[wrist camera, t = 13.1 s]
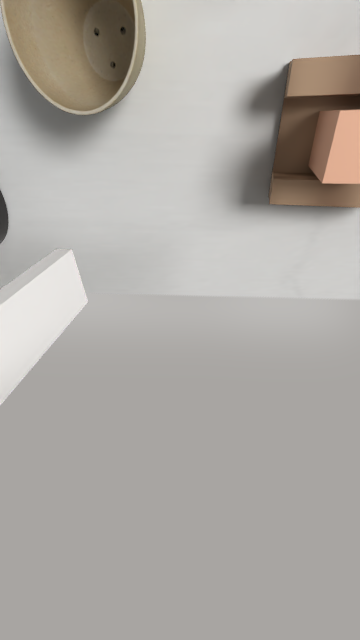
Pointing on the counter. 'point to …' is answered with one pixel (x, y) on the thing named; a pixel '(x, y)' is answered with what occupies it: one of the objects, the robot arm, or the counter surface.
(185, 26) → the counter surface
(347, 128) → the peach rectangular block
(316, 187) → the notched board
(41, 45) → the flower pot
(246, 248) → the counter surface
